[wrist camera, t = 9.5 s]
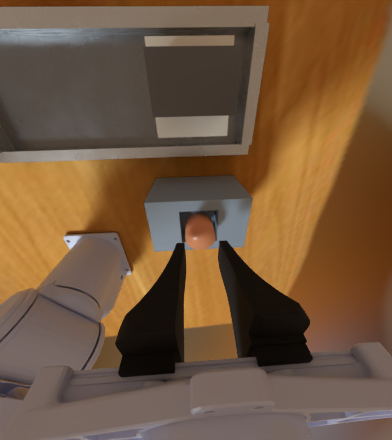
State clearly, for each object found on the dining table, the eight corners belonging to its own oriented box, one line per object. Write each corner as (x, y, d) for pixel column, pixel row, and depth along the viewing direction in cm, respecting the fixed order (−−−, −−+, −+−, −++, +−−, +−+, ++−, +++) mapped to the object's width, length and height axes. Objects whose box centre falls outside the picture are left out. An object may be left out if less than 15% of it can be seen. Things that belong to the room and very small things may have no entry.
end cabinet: (229, 214, 24) (243, 246, 18) (162, 217, 24) (154, 251, 18) (233, 175, 21) (252, 198, 15) (155, 178, 20) (143, 203, 15)
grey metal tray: (240, 149, 19) (249, 155, 16) (23, 157, 18) (-5, 164, 16) (255, 24, 14) (273, 0, 11) (-52, 26, 13) (-117, 1, 10)
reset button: (211, 233, 18) (214, 248, 16) (186, 235, 18) (186, 250, 16) (212, 211, 16) (216, 225, 14) (184, 213, 16) (184, 226, 14)
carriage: (221, 133, 16) (240, 142, 11) (162, 134, 16) (149, 145, 10) (225, 49, 13) (256, -2, 7) (151, 50, 13) (124, -1, 7)
